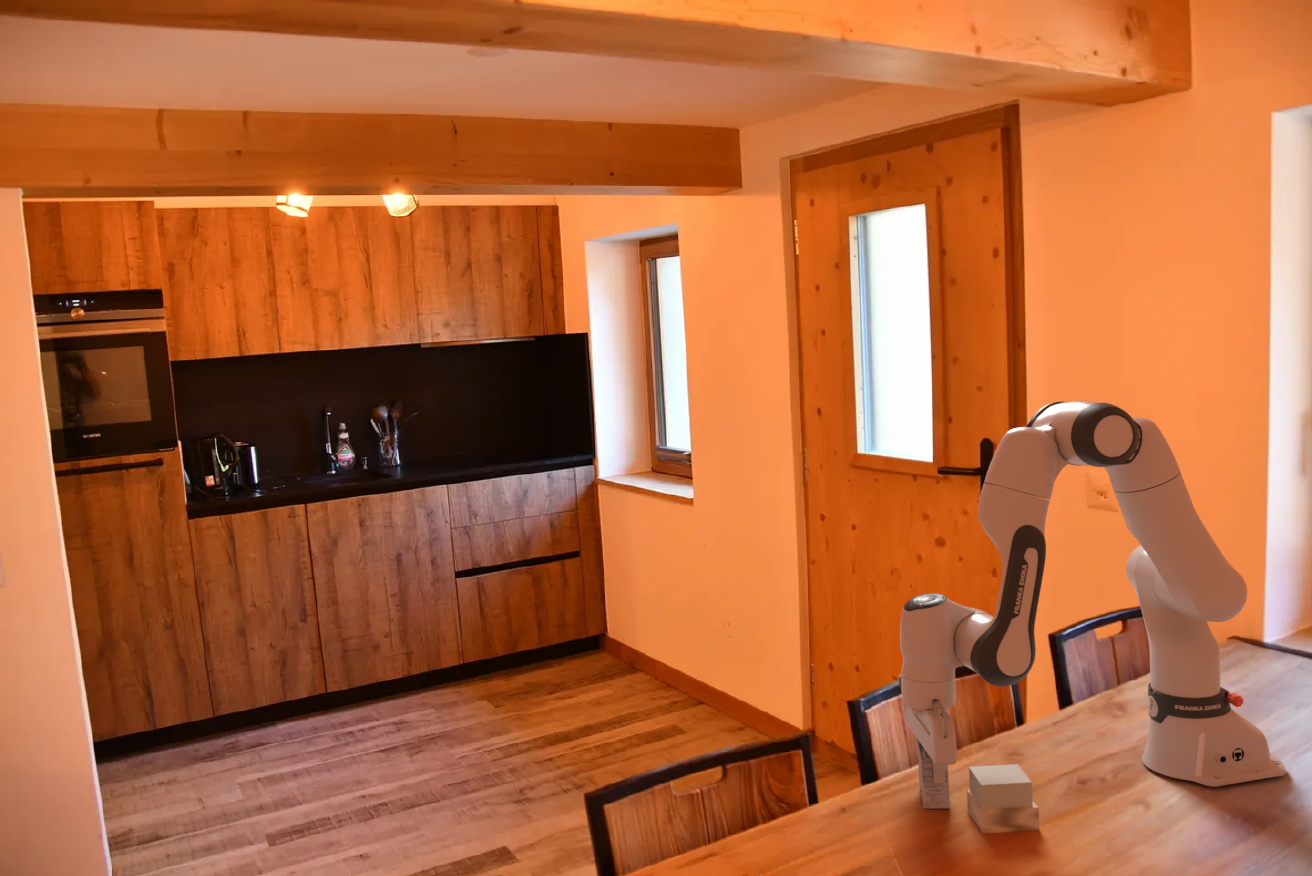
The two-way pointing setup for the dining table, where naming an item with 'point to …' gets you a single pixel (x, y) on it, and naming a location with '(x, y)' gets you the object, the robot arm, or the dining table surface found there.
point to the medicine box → (931, 783)
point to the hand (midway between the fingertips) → (931, 769)
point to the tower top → (1000, 786)
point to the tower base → (1003, 817)
